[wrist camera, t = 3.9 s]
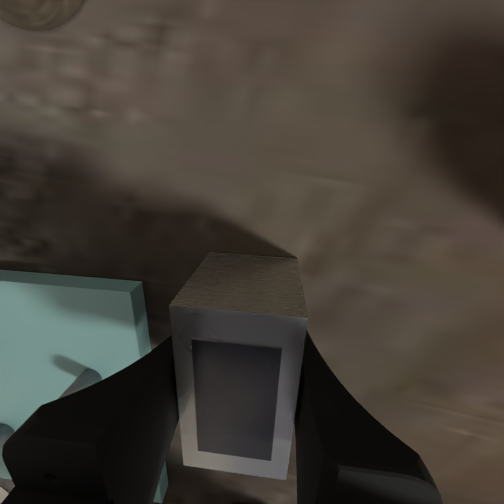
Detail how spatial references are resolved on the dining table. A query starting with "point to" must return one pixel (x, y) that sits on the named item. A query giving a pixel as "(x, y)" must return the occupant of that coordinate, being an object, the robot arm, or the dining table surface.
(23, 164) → the dining table surface
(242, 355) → the block
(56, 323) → the pin tray
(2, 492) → the wineglass
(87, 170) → the dining table surface
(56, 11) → the beer glass
